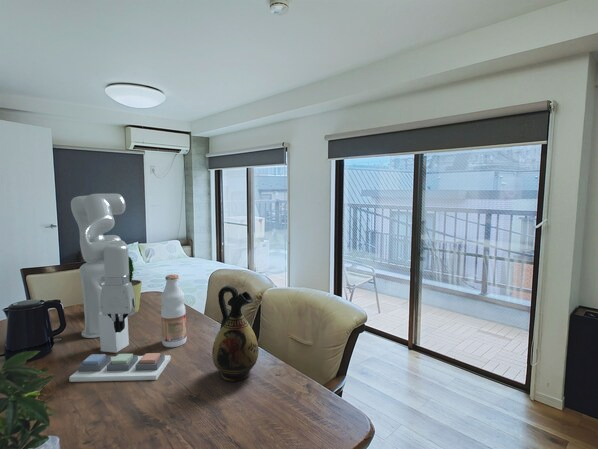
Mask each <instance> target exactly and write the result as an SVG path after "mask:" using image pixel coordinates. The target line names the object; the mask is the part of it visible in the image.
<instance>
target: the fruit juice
mask: <svg viewBox="0 0 598 449" xmlns="http://www.w3.org/2000/svg"><path fill="white" fill-rule="evenodd" d="M164 279H165V282H166V283H165V288H164V289H163V291H162V293H161V295H160V302H161V310H160V317H161V318H160V319H161V320H160V322H161V324H160V325H161V343H162V346H163V347H166V348H177V347H178V348H179V347H181V346H183V345H184V344H186V342H187V339H188V336H187V316H186V315H187V314H186V312H187V311H186V305H185V304H184V303H185V297H186V296H185V293H184V291H183V290H182V288H181V287H180V284H179V281H178V280H179V274H168V275H166V276H165V278H164Z"/></svg>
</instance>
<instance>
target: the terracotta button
mask: <svg viewBox="0 0 598 449" xmlns="http://www.w3.org/2000/svg"><path fill="white" fill-rule="evenodd" d="M160 355H161V353H160V352H152V353H151V352H150V353H149V352H148V353H146V352H145V354H143V355H142V356H143V357H142V358H141V360H140V364H150V363H156V362H157V361H158V360H159V358H160Z"/></svg>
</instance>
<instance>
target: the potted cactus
mask: <svg viewBox="0 0 598 449" xmlns="http://www.w3.org/2000/svg"><path fill="white" fill-rule="evenodd" d="M128 258H129V281H130V282H131V283H132V287H133V291H134V297H135V308H134V310H135V313H138V312H139V309H140V303H141V292H142V282H143V281H142V280H138V279H133V276H134V272H135V271H136V270H135V269H136V268H135V267H134V260H133V258H131V256H129V255H128Z"/></svg>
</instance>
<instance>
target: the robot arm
mask: <svg viewBox="0 0 598 449" xmlns="http://www.w3.org/2000/svg"><path fill="white" fill-rule="evenodd" d="M126 206H127V205H126V201H125V198H124V196H122V194H120V193H91V194H88V195H79V196H75V197H72V199H71V201H70V208H71V213H72V215H73V218H74V220H75V222H76V223H77V224H76V225H77V226H78V229H79V245H80V246H79V248H80V250H81V251H80V252H81V255H82V258H83V260H84V262H85V263H83V264H81V266H80V267H79V269H78V274H79V278H80V282H81V287H82V297H83V311H84V327H85V329H83V330H82V331H81V334H80V335H81V336H82V337H83V338H86V339H96V338H97V339H98V338H100V330H99V312H100V311H101V312H102V314H103V315H106V316H109V317H110V318H111V319H112V321H114V329H115V332H116V333H117V332H119V333H120V332H121V331H122V330H124V328H125V318H126V317H130V316H134V315H135V314H136V312H135V310H134V308H135V297H134V291H133V287H132V283H131V282H130V281H129V258H128V256H129V246H128V243H126V242H125V241H124V240H122V239H121V237H120V236H119V235H116V234H108V235H104V234H105V233H108V232H110V231H111V230H112V229H114V226H115V224H116V221H115V218H114V215H115V216H116V215H122V214H124V212H125V210H126ZM102 283H104V284H102ZM119 314H120V315H119Z"/></svg>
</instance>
